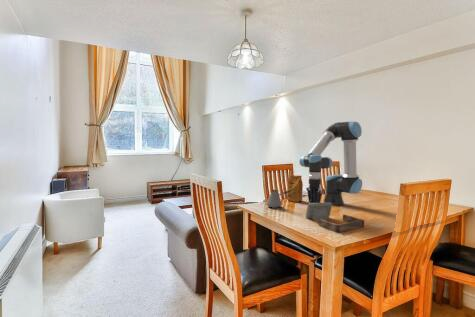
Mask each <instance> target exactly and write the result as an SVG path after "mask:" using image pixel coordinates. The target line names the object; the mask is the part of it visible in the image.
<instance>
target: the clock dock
mask: <svg viewBox="0 0 475 317" xmlns="http://www.w3.org/2000/svg"><path fill="white" fill-rule="evenodd" d="M342 222H343V223H339V224H337V223H334V222H331V221H329V220H323V219H319V221H318V227H321V228H323V229H326V230H328V231H331V232H333V233H336V234H339V233H343V232H349V231H353V230H357V229H362V228H364V227H365V220H364V219H362V218H359V217H356V216H355V217H354V216H351V215H348V214H342Z"/></svg>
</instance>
